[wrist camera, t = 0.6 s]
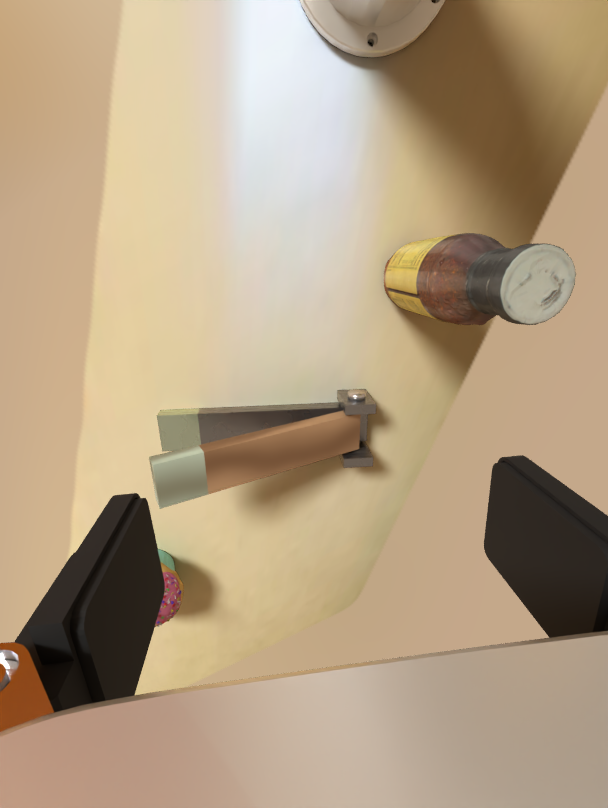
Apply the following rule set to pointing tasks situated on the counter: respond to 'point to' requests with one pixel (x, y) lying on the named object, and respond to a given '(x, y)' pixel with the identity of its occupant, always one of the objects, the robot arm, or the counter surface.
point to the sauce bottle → (480, 280)
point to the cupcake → (169, 589)
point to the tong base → (262, 422)
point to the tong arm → (251, 456)
